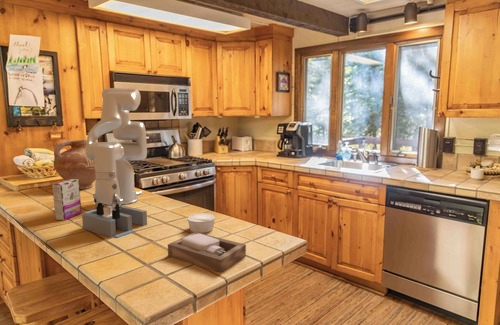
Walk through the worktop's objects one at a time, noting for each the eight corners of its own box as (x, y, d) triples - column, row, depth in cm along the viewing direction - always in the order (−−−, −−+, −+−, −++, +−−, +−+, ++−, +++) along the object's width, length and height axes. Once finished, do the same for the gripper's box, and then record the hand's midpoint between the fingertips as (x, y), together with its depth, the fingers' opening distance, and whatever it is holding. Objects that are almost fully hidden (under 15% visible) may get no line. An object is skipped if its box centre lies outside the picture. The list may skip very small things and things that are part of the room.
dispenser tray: (195, 242, 124) (195, 231, 123) (245, 255, 113) (245, 244, 112) (168, 255, 112) (167, 244, 112) (221, 272, 101) (221, 260, 100)
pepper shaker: (111, 227, 139) (109, 205, 137) (116, 229, 137) (115, 206, 135) (101, 229, 136) (100, 207, 134) (107, 232, 133) (105, 209, 132)
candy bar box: (72, 212, 158) (70, 178, 156) (81, 213, 157) (79, 179, 155) (54, 220, 147) (51, 183, 145) (64, 220, 146) (61, 184, 144)
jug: (113, 188, 209) (111, 140, 204) (64, 195, 189) (60, 142, 184) (95, 181, 228) (92, 137, 224) (48, 187, 208) (44, 139, 203)
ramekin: (189, 235, 131) (188, 222, 130) (186, 226, 142) (186, 214, 141) (217, 233, 134) (217, 220, 133) (212, 224, 145) (212, 212, 144)
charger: (213, 263, 104) (180, 251, 113) (232, 256, 111) (200, 245, 120) (214, 249, 104) (181, 237, 112) (233, 242, 111) (201, 232, 120)
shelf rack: (119, 217, 152) (118, 203, 151) (151, 225, 141) (150, 210, 140) (82, 228, 137) (81, 213, 136) (115, 238, 126) (114, 222, 125)
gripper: (128, 176, 131) (130, 218, 134) (100, 172, 140) (103, 211, 143) (111, 179, 125) (114, 223, 128) (84, 174, 134) (86, 216, 136)
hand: (108, 217), depth 135 cm, fingers open, 9 cm apart
